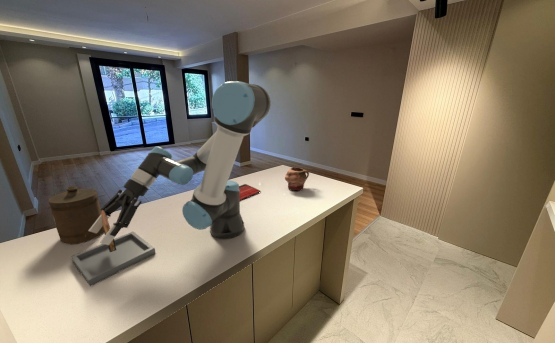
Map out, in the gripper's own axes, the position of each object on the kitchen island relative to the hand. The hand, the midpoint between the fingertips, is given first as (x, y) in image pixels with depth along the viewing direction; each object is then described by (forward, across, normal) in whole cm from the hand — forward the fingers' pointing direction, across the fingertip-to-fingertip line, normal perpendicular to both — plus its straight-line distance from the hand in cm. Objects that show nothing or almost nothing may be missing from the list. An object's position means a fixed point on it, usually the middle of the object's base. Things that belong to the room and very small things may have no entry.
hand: (98, 237), depth 76 cm
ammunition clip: (+1, 0, -5) cm, 5 cm away
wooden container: (+6, +26, -8) cm, 28 cm away
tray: (+5, -1, -9) cm, 10 cm away
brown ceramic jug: (-68, -18, -81) cm, 107 cm away
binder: (-46, +5, -60) cm, 76 cm away
